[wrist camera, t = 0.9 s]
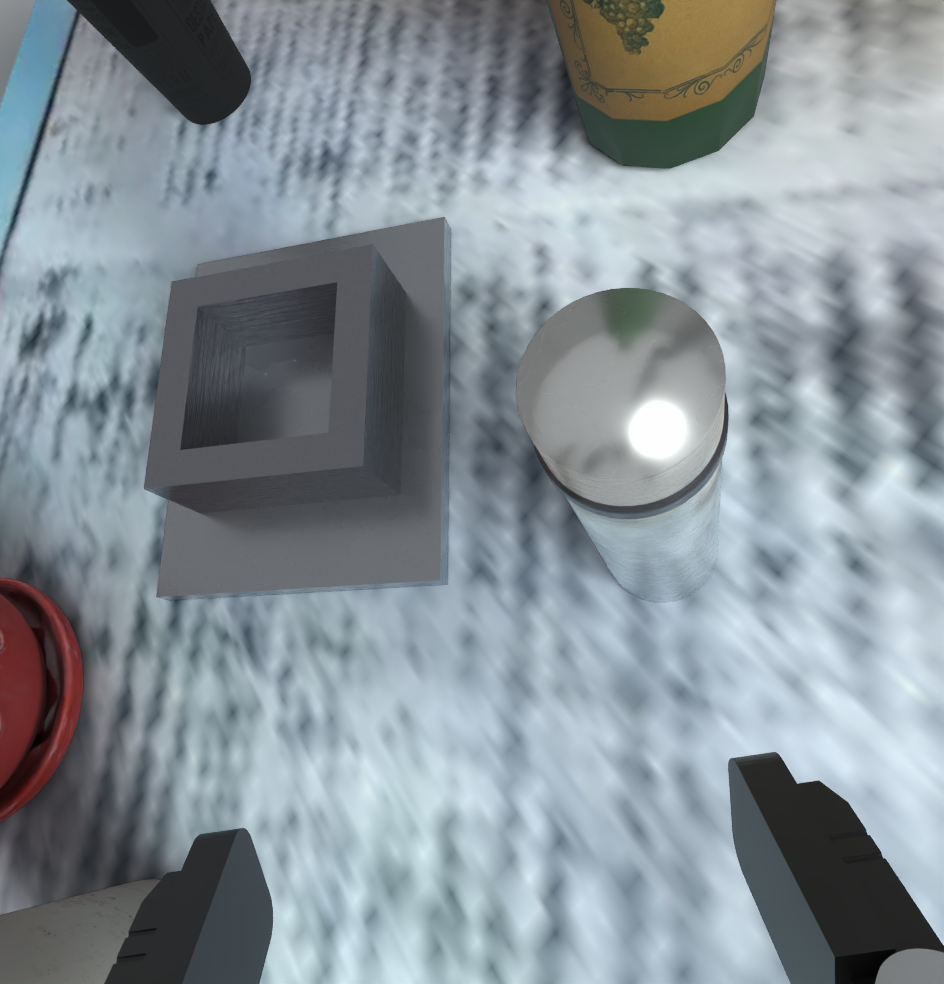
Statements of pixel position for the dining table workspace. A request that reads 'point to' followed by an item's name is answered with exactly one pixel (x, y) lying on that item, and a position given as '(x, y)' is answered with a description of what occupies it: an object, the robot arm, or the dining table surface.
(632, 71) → the bottle
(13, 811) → the plant pot
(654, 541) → the steel tube
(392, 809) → the dining table surface
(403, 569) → the collar
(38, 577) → the dining table surface
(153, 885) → the thermos bottle
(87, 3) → the drinking cup
